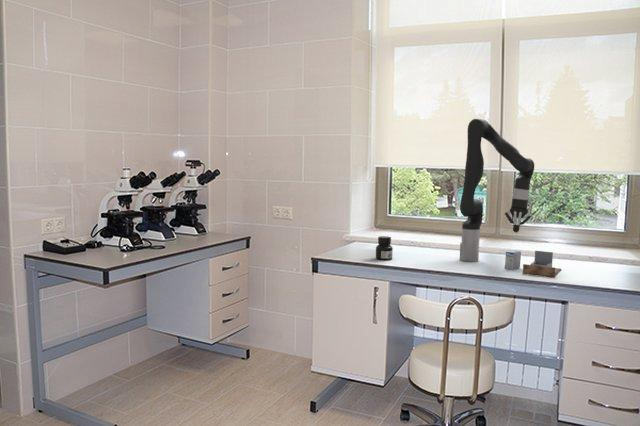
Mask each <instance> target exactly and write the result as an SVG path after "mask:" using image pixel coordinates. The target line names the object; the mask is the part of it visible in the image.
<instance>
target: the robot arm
mask: <svg viewBox="0 0 640 426" xmlns="http://www.w3.org/2000/svg"><path fill="white" fill-rule="evenodd" d="M482 138H483V139H484V140H486V141H487V142H488V143H490V144H491V145H492V146H493V147H494V149H495V150H496V152H497V153H498V154H499V155H500V156H501V157H503V158H504V159H505V160H506V161H508V162H509V164H510V165H511V166H512V167H513V168H514V169H515V170H516V171H518V172H519V173H518V176H517V177H516V178H515V181H514V188H513V192H512V199H511V206H510V209H509V211H506V212H505V213H504V215H505V216H506V218H507V220H508V221H509V223H510V224H512V227H513V228H512V232H513V233H516V234H517V233H518V232H520V227H521V226H522V225H524V224H525V223H526V222H528V221H529V220H530V219H531V218H532V215H530V213H529V210H528V206H529V199H530V187H531V180H532V178H533V175H534V171H535V162H534V160H533V159H532V158H528V157H524V156H523V155H522V154H521V152H520V151H519V150H518V148H516V147H515V146H514V145H513V144H511V143H510V142H509V141H508V140H506V139H505V138H504V137H503V136H502V135H500V134H499V133H498V131H496V130H495V128H494V127H493V126H492V125H491V123H489V121H487V120H486V119H481V118H473V119H471V120H470V121H469V123H468V125H467V147H466V149H467V150H466V161H465V167H464V168H465V169H464V181H463V188H462V194H461V198H460V199H461V200H460V204H459V205H460V206H459V210H460V213H461V214H462V216H463V217H467V219H466V220H465V221H464V222H463V223H462V224H461V225H462V226H461V242H459V243H460V245H459V261H462V262H469V263H472V262H473V263H476V262H479V255H480V254H479V253H480V237H481V235H480V234H481V226H482V222H483V214H484V205H483V202H482V201H481V200H480V199H479V198H475V193H476V190H477V187H478V186H479V184H480V182H481V180H482V178H483V175H484V168H485V167H484V166H485V161H484V156H483V151H482ZM512 217H513V218H512ZM524 217H525V218H524ZM523 218H524V220H523V221H522V219H523Z"/></svg>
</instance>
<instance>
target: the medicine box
mask: <svg viewBox="0 0 640 426" xmlns="http://www.w3.org/2000/svg"><path fill="white" fill-rule="evenodd" d="M521 256H522V251H520V250H516V249H515V250H514V249H512V250H508V251H506V252H505V263H504V269H505V270H511V271H514V270H516V269H517V270H518V269H520V267H521V260H522V259H521V258H522V257H521Z"/></svg>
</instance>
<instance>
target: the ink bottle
mask: <svg viewBox="0 0 640 426" xmlns="http://www.w3.org/2000/svg"><path fill="white" fill-rule="evenodd" d="M391 243H392V237H391V236H388V235H387V236H385V235H380V236H378V237H377V245H376V247H375V259H376V260H379V261H391V260H392V259H393V251H394V250H393V249H394V248H393V246H392V245H391Z"/></svg>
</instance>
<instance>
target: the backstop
mask: <svg viewBox="0 0 640 426" xmlns="http://www.w3.org/2000/svg"><path fill="white" fill-rule="evenodd" d="M560 271H562V268H556V267H553V266H552V267H544V266H536V265H530V264H525V263H523V265H522V275H527V274H529V275H528V276H535V275H538V277H544V276H545V277H546V278H554V279H555V277H556V276H557V275H558V274H559V273H560Z"/></svg>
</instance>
